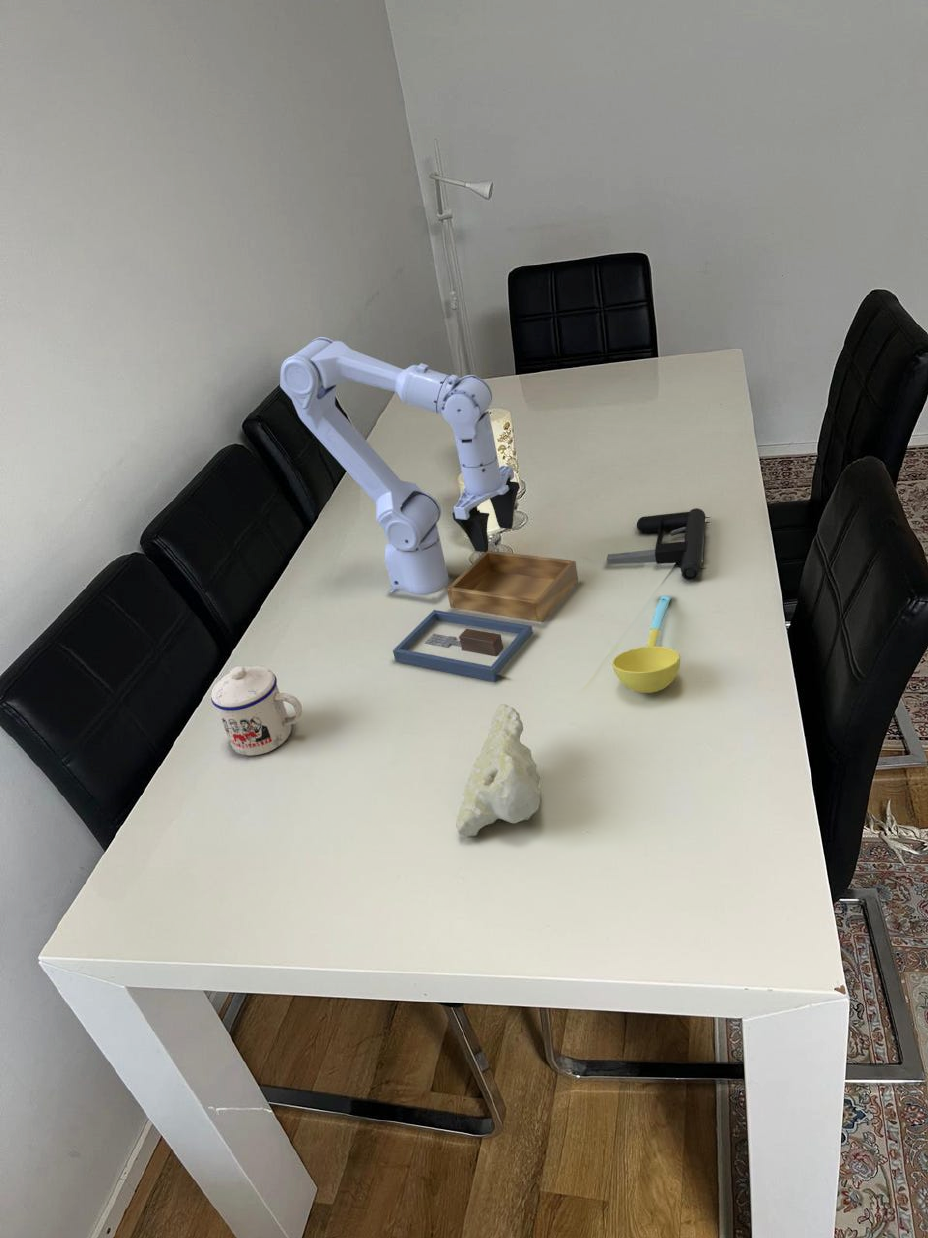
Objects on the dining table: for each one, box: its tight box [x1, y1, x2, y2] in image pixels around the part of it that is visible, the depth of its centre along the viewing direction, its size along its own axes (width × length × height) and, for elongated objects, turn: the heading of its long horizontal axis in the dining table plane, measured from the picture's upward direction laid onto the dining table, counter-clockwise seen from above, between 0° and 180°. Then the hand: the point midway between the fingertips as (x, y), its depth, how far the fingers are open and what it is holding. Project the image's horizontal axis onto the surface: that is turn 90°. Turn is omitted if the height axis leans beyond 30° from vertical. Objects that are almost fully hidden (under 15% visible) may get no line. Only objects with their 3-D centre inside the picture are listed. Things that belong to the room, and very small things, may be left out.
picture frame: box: [392, 609, 534, 683], centre depth 146 cm, size 18×12×2 cm, turn 59°
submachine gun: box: [606, 507, 711, 582], centre depth 159 cm, size 3×20×16 cm
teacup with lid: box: [210, 665, 303, 756], centre depth 134 cm, size 12×9×12 cm
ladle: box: [612, 595, 681, 694], centre depth 137 cm, size 9×26×6 cm, turn 165°
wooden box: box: [446, 550, 579, 624], centre depth 155 cm, size 17×13×4 cm
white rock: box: [455, 703, 541, 838], centre depth 116 cm, size 15×7×15 cm
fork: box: [424, 628, 504, 657], centre depth 146 cm, size 13×2×3 cm, turn 59°
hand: (494, 538), depth 155 cm, fingers open, 7 cm apart
